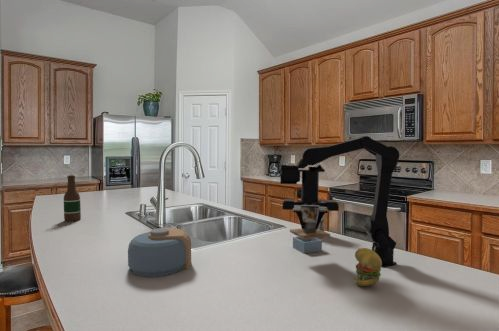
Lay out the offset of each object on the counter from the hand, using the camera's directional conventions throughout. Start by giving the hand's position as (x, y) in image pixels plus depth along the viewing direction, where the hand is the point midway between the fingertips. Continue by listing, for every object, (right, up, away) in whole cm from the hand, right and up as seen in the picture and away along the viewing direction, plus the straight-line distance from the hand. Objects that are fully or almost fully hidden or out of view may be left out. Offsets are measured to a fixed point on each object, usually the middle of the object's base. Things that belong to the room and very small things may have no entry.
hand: (309, 229), depth 111 cm
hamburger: (+13, -12, -20) cm, 27 cm away
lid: (0, -2, 0) cm, 2 cm away
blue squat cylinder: (-50, -11, -5) cm, 52 cm away
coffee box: (+8, -9, +32) cm, 34 cm away
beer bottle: (-115, -7, +60) cm, 130 cm away
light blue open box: (+1, -10, +13) cm, 16 cm away
